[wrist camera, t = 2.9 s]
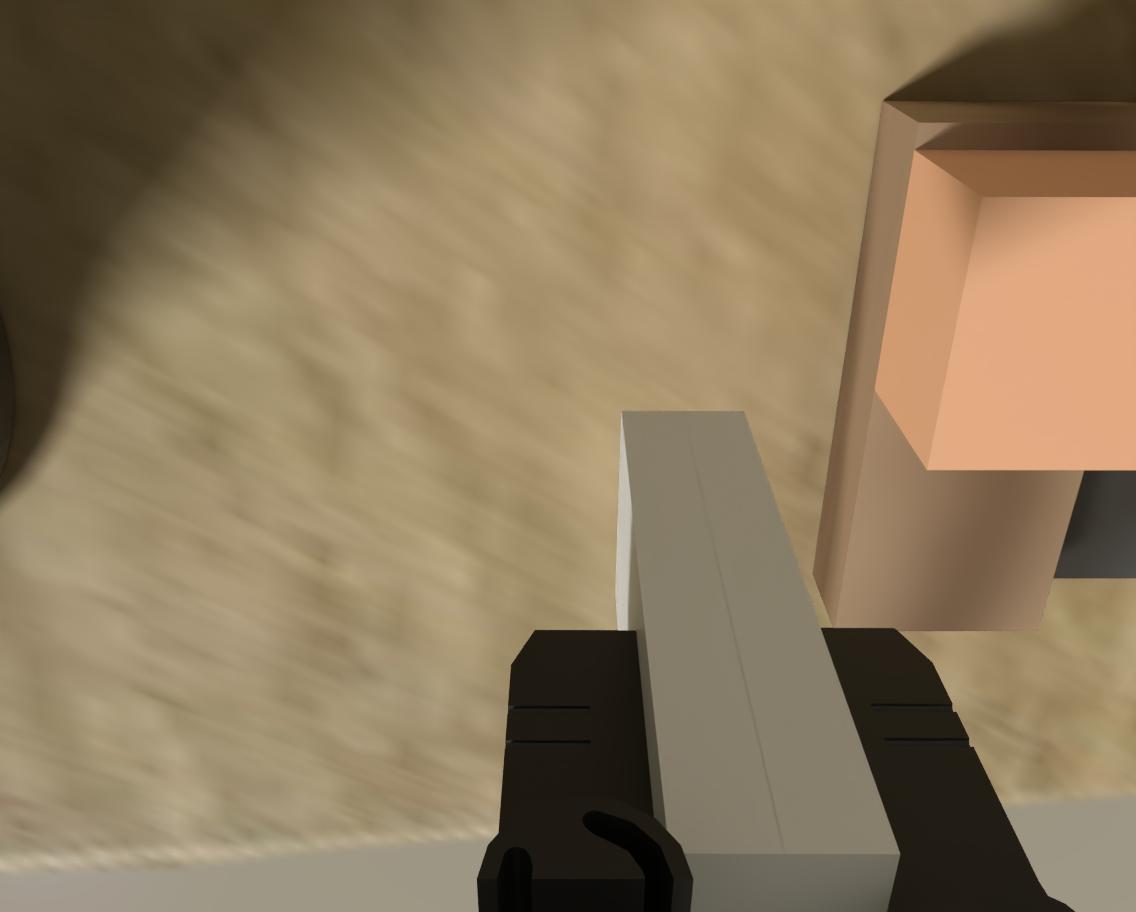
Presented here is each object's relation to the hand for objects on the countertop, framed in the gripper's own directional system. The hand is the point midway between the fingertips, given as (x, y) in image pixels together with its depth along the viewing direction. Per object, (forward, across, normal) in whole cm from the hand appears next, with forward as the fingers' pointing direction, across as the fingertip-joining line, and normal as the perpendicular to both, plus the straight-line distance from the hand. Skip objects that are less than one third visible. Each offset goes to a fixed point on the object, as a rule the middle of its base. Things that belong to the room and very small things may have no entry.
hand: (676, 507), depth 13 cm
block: (+9, +8, 0) cm, 12 cm away
